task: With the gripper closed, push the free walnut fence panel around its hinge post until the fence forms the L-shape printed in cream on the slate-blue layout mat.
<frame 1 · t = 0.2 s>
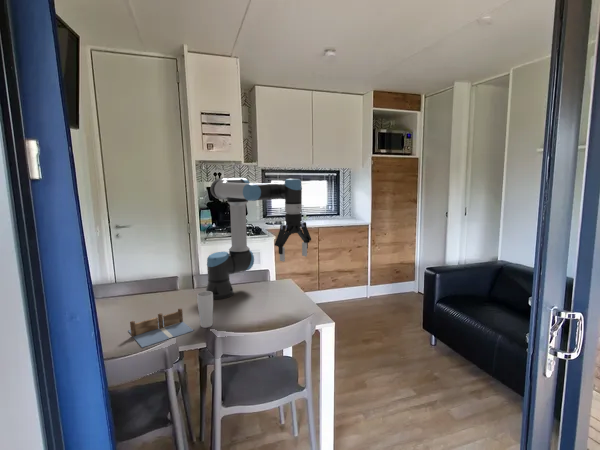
hand: (293, 258, 154), 28 cm above the table, fingers open, 13 cm apart
layout mat: (160, 330, 143), on the table
fence fixed: (172, 324, 149), resting on layout mat
fence panel: (147, 324, 141), point 4 cm above the table, hinge at 0.0°
drinking glass: (206, 326, 148), on the table
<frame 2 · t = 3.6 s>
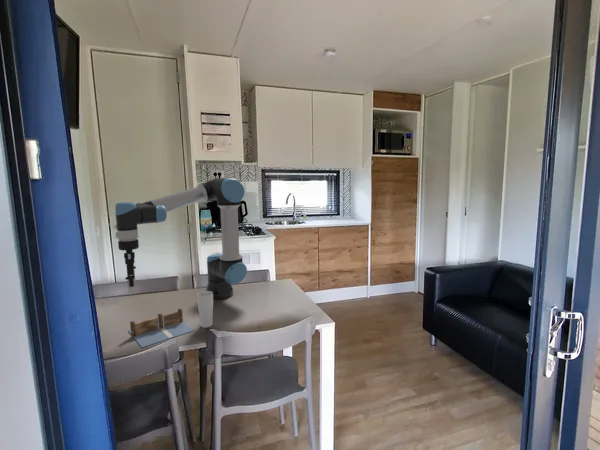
hand: (132, 288, 141), 19 cm above the table, fingers open, 13 cm apart
nothing on the table moved.
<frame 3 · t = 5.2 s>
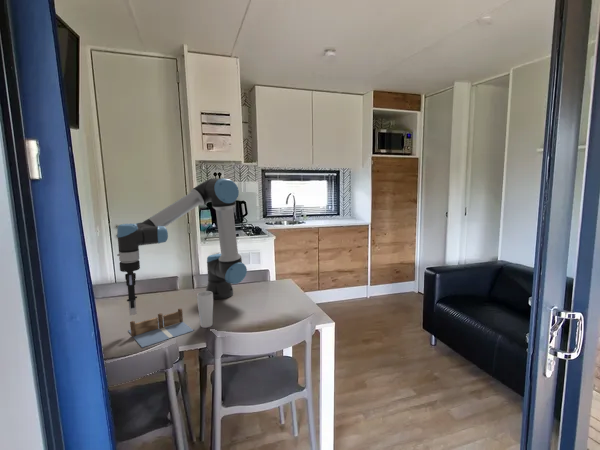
hand: (133, 314, 142), 7 cm above the table, fingers closed
nothing on the table moved.
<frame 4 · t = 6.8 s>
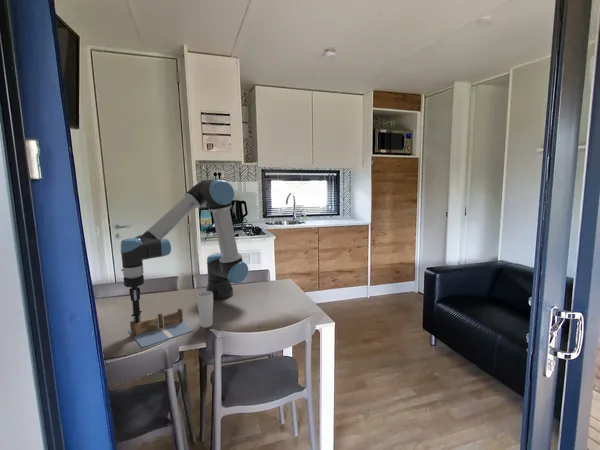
hand: (137, 328, 141), 2 cm above the table, fingers closed
fence panel: (147, 324, 141), point 4 cm above the table, hinge at 0.2°, touching gripper
everything else where it was.
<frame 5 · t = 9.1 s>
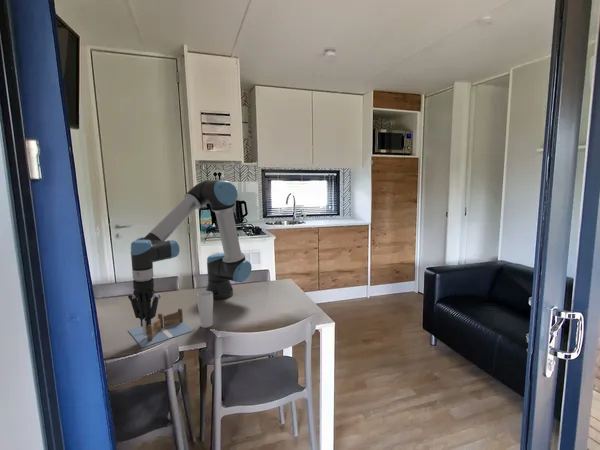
hand: (146, 333, 136), 2 cm above the table, fingers closed
fence panel: (155, 326, 139), point 4 cm above the table, hinge at 49.1°, touching gripper
everything else where it was.
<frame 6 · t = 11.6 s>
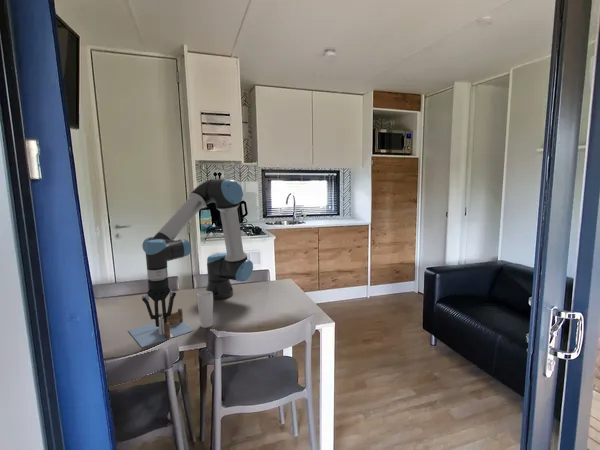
hand: (161, 333, 137), 2 cm above the table, fingers closed
fence panel: (163, 325, 140), point 4 cm above the table, hinge at 84.2°, touching gripper
everything else where it was.
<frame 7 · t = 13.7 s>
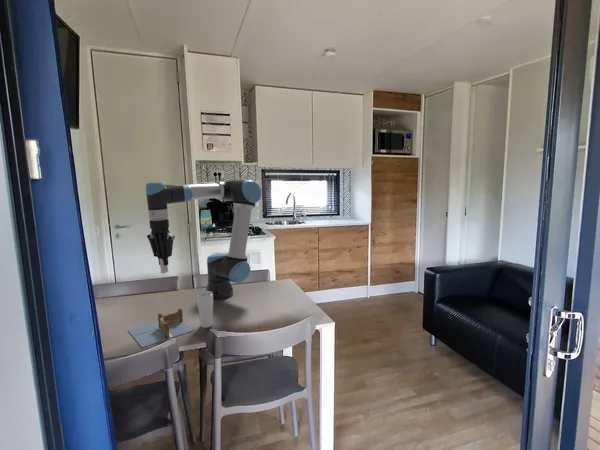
hand: (164, 272, 144), 25 cm above the table, fingers closed
fence panel: (163, 325, 140), point 4 cm above the table, hinge at 82.5°
everything else where it was.
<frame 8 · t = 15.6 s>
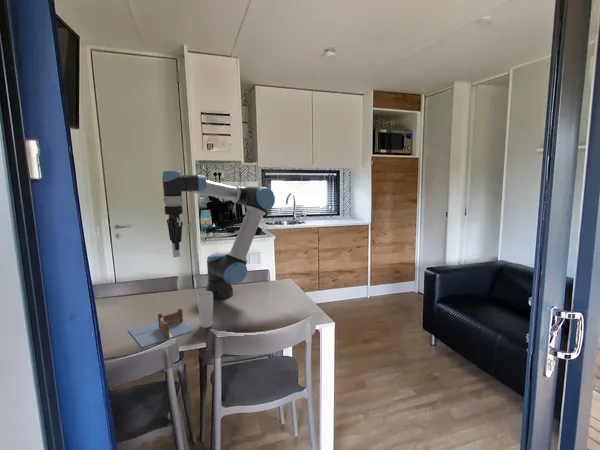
hand: (176, 256, 153), 29 cm above the table, fingers closed
nothing on the table moved.
at the end: fence panel at +82° (first picture: +0°) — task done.
